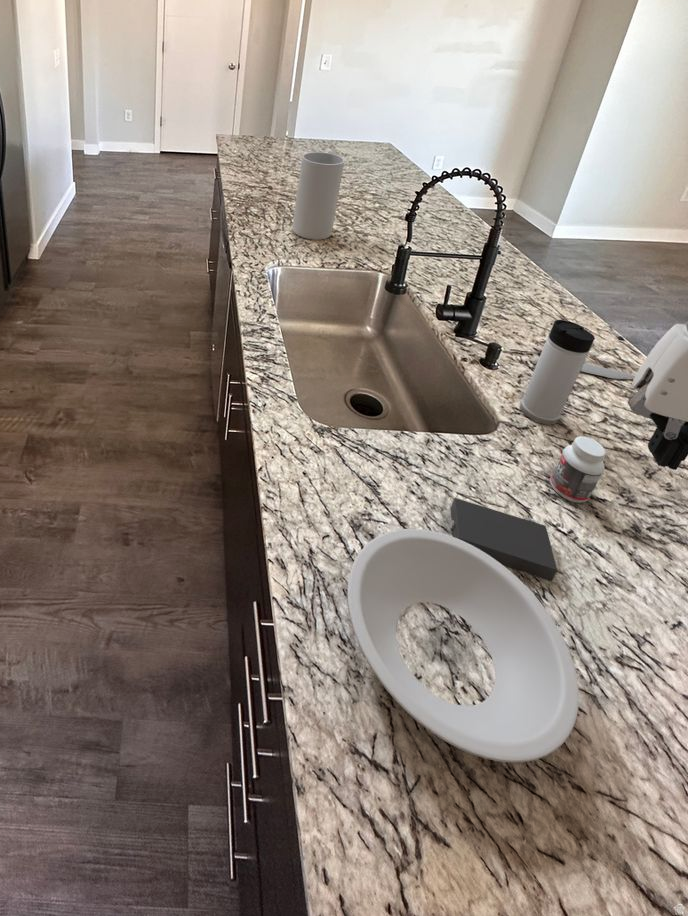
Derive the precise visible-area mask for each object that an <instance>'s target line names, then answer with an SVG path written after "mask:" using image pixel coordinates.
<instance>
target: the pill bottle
mask: <svg viewBox="0 0 688 916" xmlns="http://www.w3.org/2000/svg"><path fill="white" fill-rule="evenodd" d="M606 452H607V451H606V449H605V448H604V447H603V445H602V444H601V443H599V442H598V441H596V440H595V439H593V438H591V437H588V436H583V435H582V436H576V437H575V438H574V440H573V442H572V444H569V445H567V446H565V447H564V449H563V450H562V452H561V454H560V457H559V459H558V461H557V463H556V465H555V466H554V469H553V471H552V473H551V475H550V477H549V483H550V487H551V488H552V489H553V490H554V492H556V493H557V495H559V496H561V497H562V498H564V499H565V500H567V501H569V502H573V503H575V504H584V503H585V502H586V503H587V501H588V500H589V499H590V497H591V495H592V493H593V492H594V489H595V488H596V486H597V485H598V483H599V481H600V479H601V477H602V475H603V473H604V471H605V463H604V458H605V456H606Z"/></svg>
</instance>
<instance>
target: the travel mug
mask: <svg viewBox="0 0 688 916" xmlns="http://www.w3.org/2000/svg"><path fill="white" fill-rule="evenodd" d="M595 339H596V336H595V335H594V334H593V333H591V332H590V331H588V330H586V329H585V327H584V326H582V325H581V324H577V323H575V322H573V321H569V320H565V319H556V320H554V322H553V324H552V327H551V329H550V332H549V334H548V336H547V338H546V340H545V343H544V345H543V348H542V350H541V352H540V353H541V355H540V357H539V356H538V357H539V358H538V360H537V362H536V364H535V367H534V370H533V371H532V375H531V377H530V379H529V382H528V384H527V387H526V389H525V392H524V394H523V396H522V399H521V401H520V404H519V408H520V411H521V412H522V413H523V414H524V415H525V416H526V417H527V418H529V419H530V420H532V421H534V422H536V423H538V424H542V425H547V426H549V425H554V424H557V422H559V419H560V417H561V414H562V412H563V410H564V408H565V406H566V403H567V401H568V399H569V397H570V396H571V395H570V394H571V392H572V390H573V388H574V386H575V384H576V381H577V379H578V377H579V375H580V373H581V372H582V371H581V368H582V366H583V364H584V363H586V360H587V358H588V355H589V354H590V351H591V348H592V345H593V343H594V341H595Z"/></svg>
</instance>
